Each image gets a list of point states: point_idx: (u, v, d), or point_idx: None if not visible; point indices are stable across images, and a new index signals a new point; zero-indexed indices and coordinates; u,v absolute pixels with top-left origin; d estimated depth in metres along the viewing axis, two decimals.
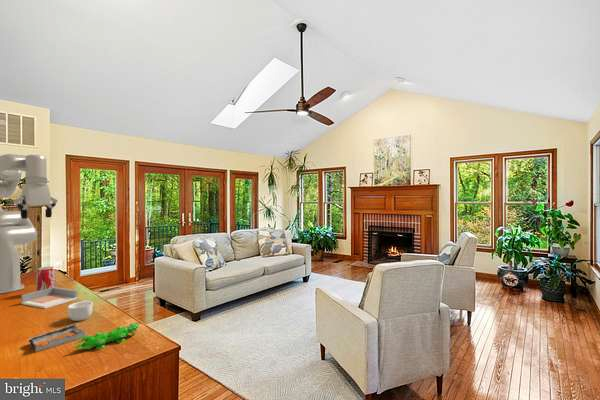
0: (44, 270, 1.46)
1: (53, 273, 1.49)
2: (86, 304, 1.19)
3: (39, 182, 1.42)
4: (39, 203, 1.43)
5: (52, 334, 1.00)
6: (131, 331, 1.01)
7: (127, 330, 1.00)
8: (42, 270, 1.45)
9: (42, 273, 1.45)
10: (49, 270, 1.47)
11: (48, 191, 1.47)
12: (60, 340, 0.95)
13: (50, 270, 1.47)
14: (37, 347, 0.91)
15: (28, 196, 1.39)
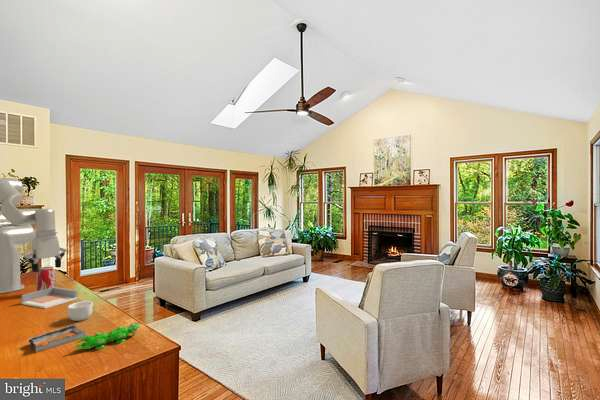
0: (44, 270, 1.46)
1: (53, 273, 1.49)
2: (86, 304, 1.19)
3: (49, 235, 1.46)
4: (49, 255, 1.47)
5: (52, 334, 1.00)
6: (131, 331, 1.00)
7: (127, 330, 0.99)
8: (42, 270, 1.45)
9: (42, 273, 1.45)
10: (49, 270, 1.47)
11: (57, 242, 1.51)
12: (60, 340, 0.95)
13: (50, 270, 1.47)
14: (37, 347, 0.91)
15: (38, 250, 1.43)
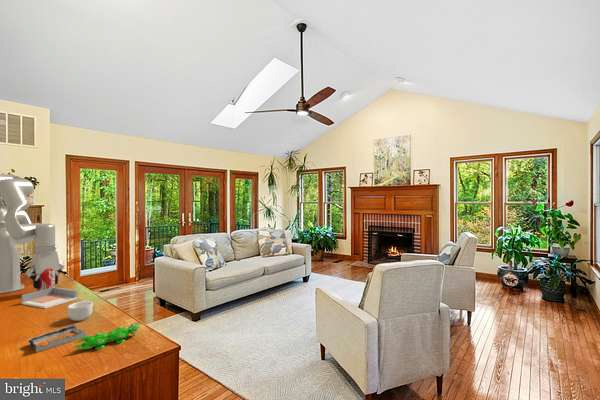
0: None
1: (53, 273, 1.49)
2: (86, 304, 1.19)
3: (48, 251, 1.46)
4: None
5: (52, 335, 1.00)
6: (131, 332, 1.00)
7: (127, 331, 0.99)
8: None
9: (42, 273, 1.45)
10: (49, 270, 1.47)
11: (57, 257, 1.51)
12: (60, 340, 0.95)
13: (50, 270, 1.47)
14: (37, 347, 0.91)
15: (38, 266, 1.44)
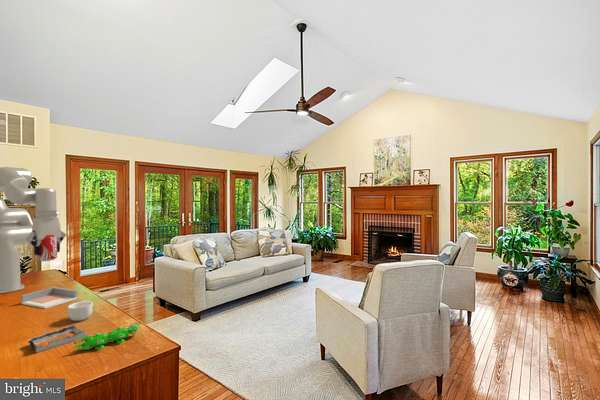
0: None
1: (55, 239, 1.42)
2: (86, 304, 1.19)
3: (50, 216, 1.40)
4: None
5: (51, 335, 1.00)
6: (131, 332, 1.00)
7: (127, 331, 0.99)
8: None
9: (43, 239, 1.38)
10: (51, 236, 1.40)
11: (58, 224, 1.44)
12: (60, 340, 0.95)
13: (52, 236, 1.41)
14: (38, 348, 0.90)
15: (39, 231, 1.37)
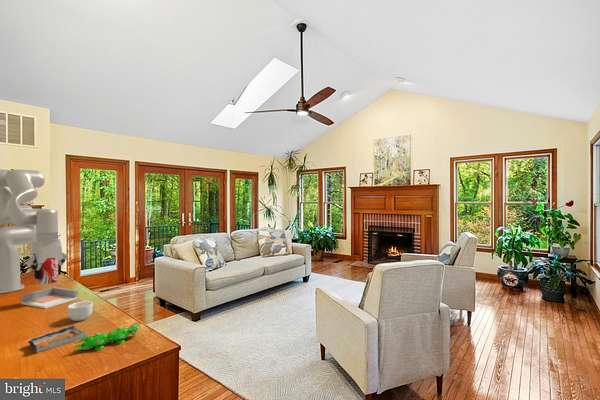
0: (46, 259, 1.34)
1: (56, 262, 1.37)
2: (86, 304, 1.19)
3: (51, 238, 1.34)
4: None
5: (51, 335, 0.99)
6: (131, 332, 1.00)
7: (127, 331, 0.99)
8: None
9: (44, 262, 1.33)
10: (52, 259, 1.35)
11: (60, 246, 1.39)
12: (61, 340, 0.95)
13: (53, 259, 1.36)
14: (38, 348, 0.90)
15: (39, 254, 1.32)
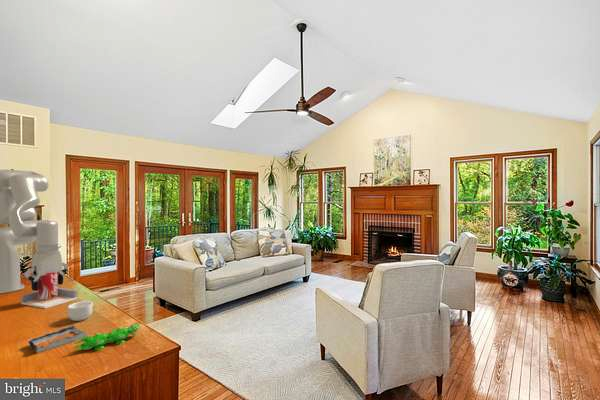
0: (46, 274, 1.34)
1: (56, 277, 1.37)
2: (86, 304, 1.19)
3: (51, 251, 1.34)
4: None
5: (51, 335, 0.99)
6: (131, 332, 1.00)
7: (127, 331, 0.98)
8: None
9: (44, 277, 1.33)
10: (51, 274, 1.35)
11: (60, 258, 1.39)
12: (61, 341, 0.95)
13: (52, 274, 1.36)
14: (38, 348, 0.90)
15: (39, 267, 1.32)
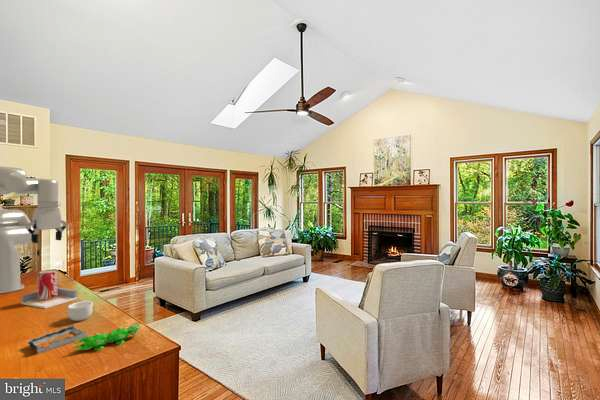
0: (46, 274, 1.34)
1: (56, 277, 1.37)
2: (86, 304, 1.19)
3: (50, 207, 1.43)
4: (50, 227, 1.44)
5: (51, 336, 0.99)
6: (131, 332, 0.99)
7: (127, 331, 0.98)
8: (44, 274, 1.34)
9: (44, 277, 1.33)
10: (51, 274, 1.35)
11: (59, 215, 1.48)
12: (61, 341, 0.94)
13: (52, 274, 1.36)
14: (39, 349, 0.90)
15: (39, 221, 1.40)
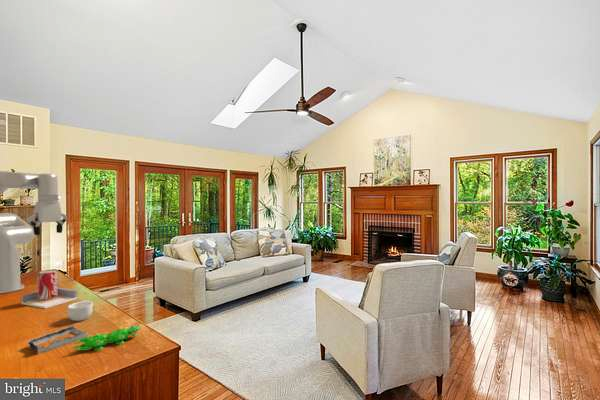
0: (46, 274, 1.34)
1: (56, 277, 1.37)
2: (86, 304, 1.19)
3: (51, 200, 1.48)
4: (51, 220, 1.50)
5: (51, 336, 0.99)
6: (131, 333, 0.99)
7: (127, 332, 0.98)
8: (44, 274, 1.34)
9: (44, 277, 1.33)
10: (51, 274, 1.35)
11: (59, 208, 1.53)
12: (62, 341, 0.94)
13: (52, 274, 1.36)
14: (39, 349, 0.90)
15: (41, 213, 1.46)
